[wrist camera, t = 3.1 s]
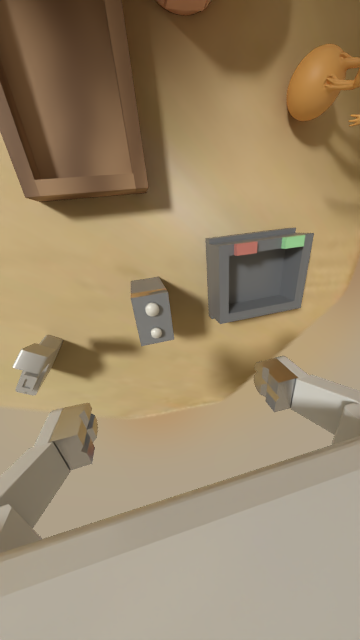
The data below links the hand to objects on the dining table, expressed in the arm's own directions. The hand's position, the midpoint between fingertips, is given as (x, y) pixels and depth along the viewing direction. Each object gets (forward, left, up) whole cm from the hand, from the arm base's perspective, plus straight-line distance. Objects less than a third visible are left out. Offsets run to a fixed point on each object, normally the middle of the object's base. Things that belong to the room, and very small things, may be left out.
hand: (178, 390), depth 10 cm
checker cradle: (+12, +1, -14) cm, 18 cm away
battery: (0, 0, -14) cm, 14 cm away
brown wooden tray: (-3, +16, -14) cm, 22 cm away
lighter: (-11, -3, -15) cm, 19 cm away
